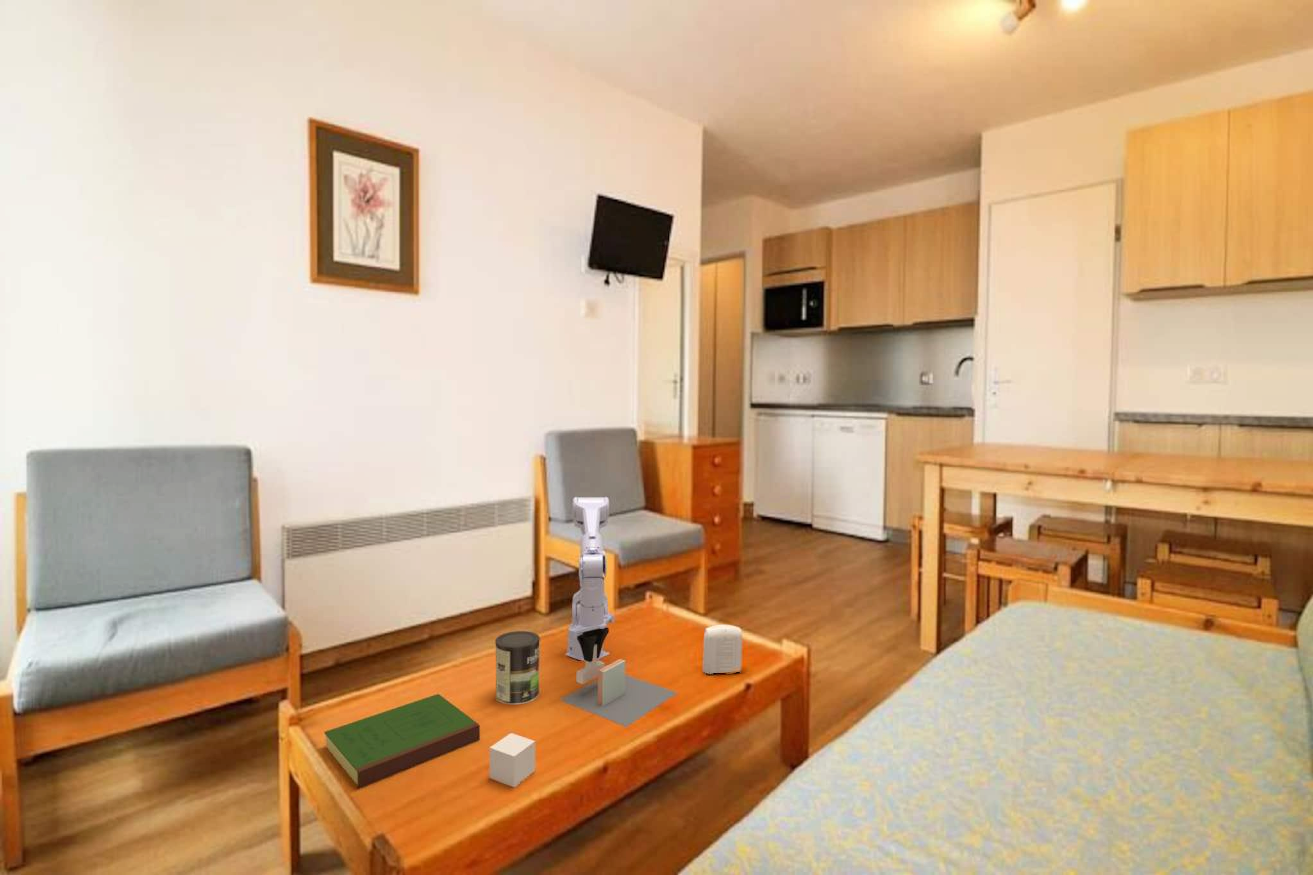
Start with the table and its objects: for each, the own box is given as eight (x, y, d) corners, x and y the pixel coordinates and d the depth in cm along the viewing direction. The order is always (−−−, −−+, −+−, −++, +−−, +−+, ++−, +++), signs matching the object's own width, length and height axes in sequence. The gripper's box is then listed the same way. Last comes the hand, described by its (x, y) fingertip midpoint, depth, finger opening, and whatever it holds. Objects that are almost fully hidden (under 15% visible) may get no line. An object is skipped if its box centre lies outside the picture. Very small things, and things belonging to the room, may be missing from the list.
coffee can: (545, 688, 156) (546, 632, 155) (529, 708, 146) (529, 648, 145) (506, 684, 158) (506, 628, 157) (487, 703, 148) (487, 644, 147)
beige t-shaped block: (576, 681, 152) (576, 648, 151) (598, 670, 158) (598, 638, 158) (582, 684, 151) (583, 651, 150) (604, 672, 157) (605, 640, 156)
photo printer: (738, 667, 170) (740, 622, 170) (743, 674, 166) (744, 627, 165) (701, 668, 169) (702, 623, 168) (704, 675, 165) (705, 629, 164)
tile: (597, 703, 148) (598, 670, 147) (619, 691, 154) (619, 658, 154) (603, 705, 147) (603, 672, 146) (624, 693, 154) (625, 660, 153)
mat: (559, 701, 150) (559, 699, 150) (613, 672, 166) (613, 670, 166) (626, 728, 138) (626, 726, 138) (677, 694, 154) (677, 692, 154)
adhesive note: (510, 762, 125) (511, 732, 125) (535, 771, 122) (535, 740, 122) (489, 778, 120) (489, 747, 119) (514, 787, 117) (514, 756, 117)
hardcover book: (358, 791, 116) (358, 771, 116) (324, 749, 129) (324, 731, 129) (482, 740, 133) (482, 723, 133) (441, 708, 147) (441, 692, 146)
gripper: (584, 615, 145) (583, 673, 146) (624, 599, 157) (623, 653, 157) (561, 608, 149) (561, 665, 150) (602, 593, 161) (601, 646, 162)
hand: (591, 658), depth 154 cm, fingers closed on beige t-shaped block, 2 cm apart
